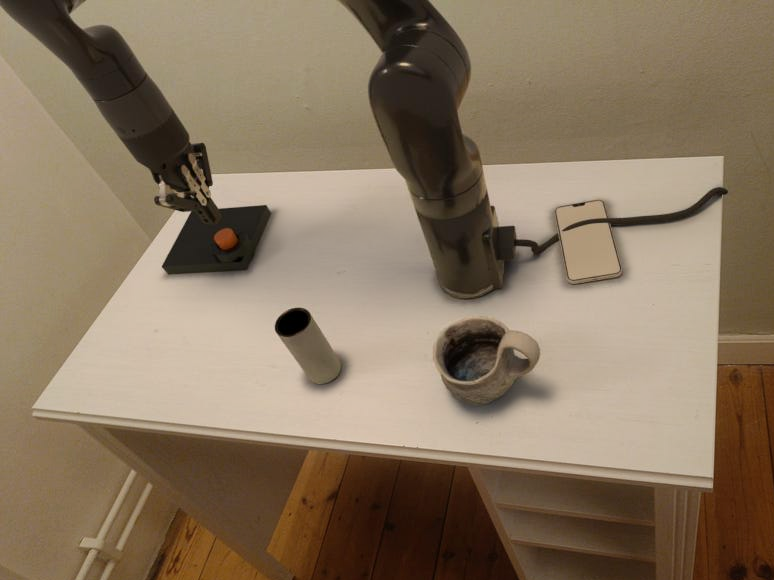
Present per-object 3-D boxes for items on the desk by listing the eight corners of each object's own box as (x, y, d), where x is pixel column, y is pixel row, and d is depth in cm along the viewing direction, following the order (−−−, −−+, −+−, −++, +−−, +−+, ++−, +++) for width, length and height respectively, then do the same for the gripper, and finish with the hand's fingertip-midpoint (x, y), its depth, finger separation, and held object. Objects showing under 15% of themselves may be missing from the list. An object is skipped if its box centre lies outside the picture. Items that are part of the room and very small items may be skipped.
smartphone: (567, 282, 81) (553, 207, 90) (567, 285, 82) (553, 210, 91) (623, 273, 80) (603, 198, 89) (623, 276, 81) (603, 201, 90)
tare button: (240, 235, 95) (235, 227, 94) (234, 249, 94) (228, 241, 92) (223, 236, 96) (217, 228, 95) (217, 250, 94) (211, 242, 93)
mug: (452, 348, 79) (434, 297, 71) (549, 349, 76) (541, 296, 68) (439, 413, 74) (418, 366, 66) (543, 416, 71) (534, 368, 63)
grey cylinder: (335, 385, 79) (302, 338, 71) (303, 383, 80) (268, 335, 72) (346, 357, 81) (316, 307, 73) (315, 355, 83) (282, 306, 74)
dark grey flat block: (274, 213, 102) (264, 196, 100) (249, 270, 95) (238, 254, 92) (197, 218, 105) (186, 203, 102) (168, 274, 98) (155, 259, 95)
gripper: (146, 147, 73) (222, 251, 87) (187, 84, 80) (251, 189, 94) (93, 153, 74) (176, 254, 88) (138, 91, 82) (208, 193, 96)
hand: (214, 221), depth 91 cm, fingers closed
